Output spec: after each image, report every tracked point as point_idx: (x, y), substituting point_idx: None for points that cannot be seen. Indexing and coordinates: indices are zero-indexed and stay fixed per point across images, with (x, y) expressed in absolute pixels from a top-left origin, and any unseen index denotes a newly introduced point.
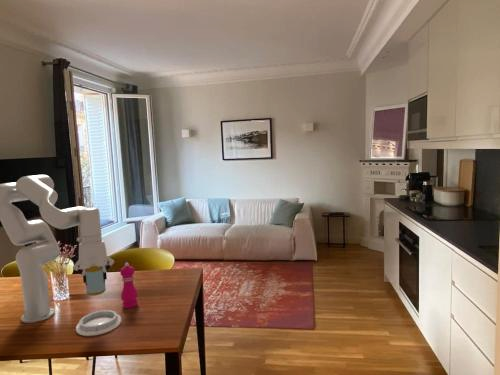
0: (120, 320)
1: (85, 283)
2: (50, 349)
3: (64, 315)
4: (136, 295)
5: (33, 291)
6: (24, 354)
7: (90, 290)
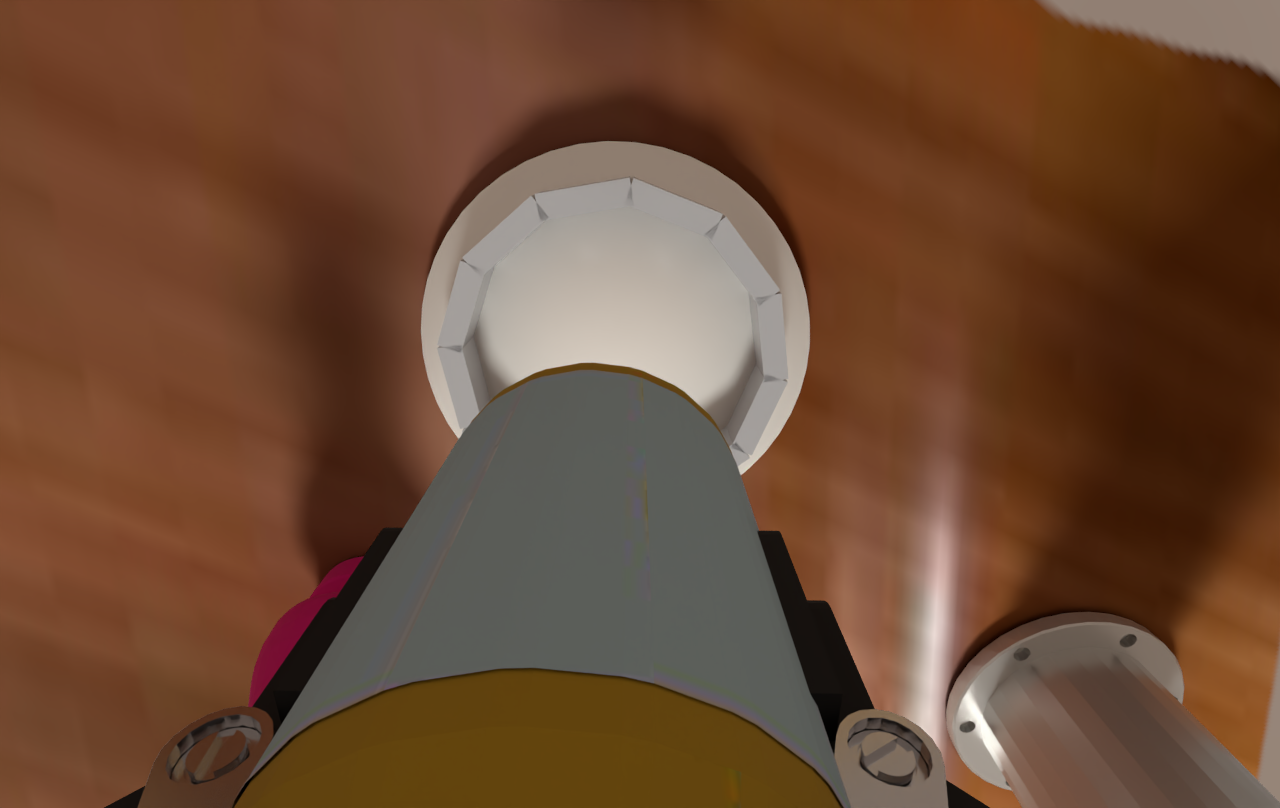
0: (424, 304)
1: (786, 548)
2: (1023, 49)
3: (880, 638)
4: (268, 636)
5: None
6: (1227, 64)
7: (681, 414)
